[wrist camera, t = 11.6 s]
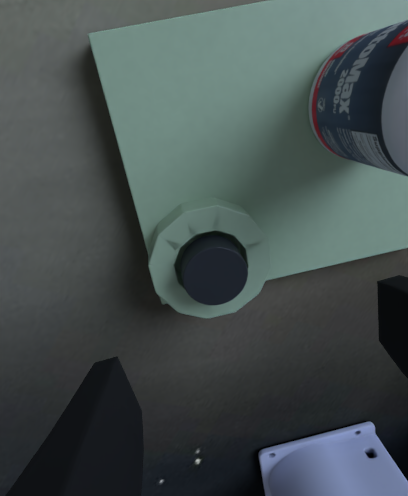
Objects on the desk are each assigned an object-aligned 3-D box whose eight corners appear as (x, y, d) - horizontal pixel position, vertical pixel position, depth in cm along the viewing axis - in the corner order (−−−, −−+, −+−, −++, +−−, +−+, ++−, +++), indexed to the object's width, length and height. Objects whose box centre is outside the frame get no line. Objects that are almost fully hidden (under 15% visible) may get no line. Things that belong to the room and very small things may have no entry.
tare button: (235, 228, 16) (243, 240, 15) (243, 282, 17) (252, 297, 16) (174, 242, 16) (176, 255, 14) (186, 295, 17) (190, 312, 16)
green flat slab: (437, -24, 15) (498, -52, 13) (415, 240, 21) (454, 260, 18) (92, 39, 15) (79, 24, 12) (163, 298, 20) (164, 329, 17)
